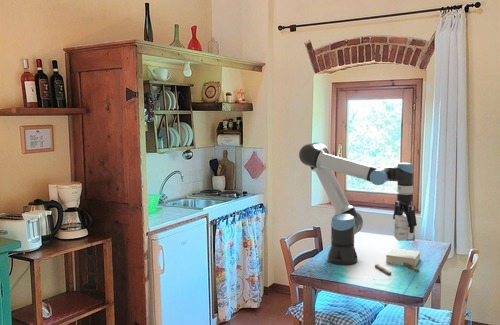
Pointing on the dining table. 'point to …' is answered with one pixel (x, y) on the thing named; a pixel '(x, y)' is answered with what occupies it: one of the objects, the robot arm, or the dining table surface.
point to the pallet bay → (390, 272)
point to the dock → (403, 256)
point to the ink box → (402, 228)
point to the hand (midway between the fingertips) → (404, 236)
